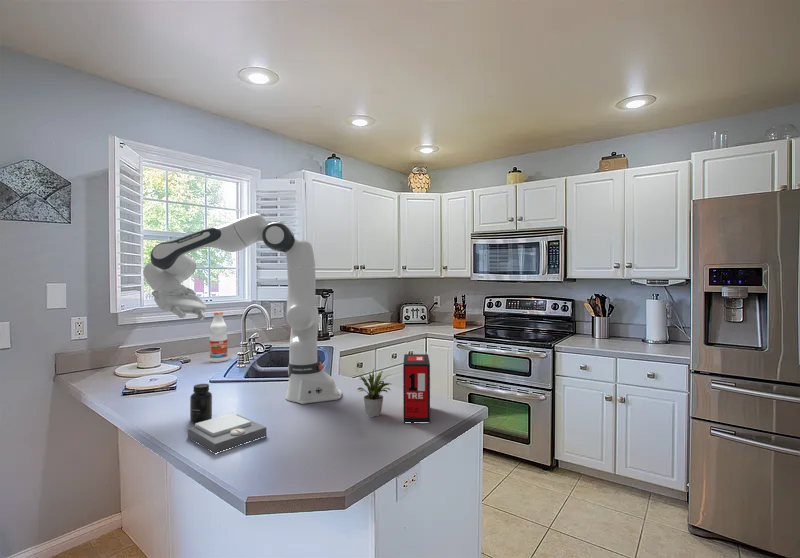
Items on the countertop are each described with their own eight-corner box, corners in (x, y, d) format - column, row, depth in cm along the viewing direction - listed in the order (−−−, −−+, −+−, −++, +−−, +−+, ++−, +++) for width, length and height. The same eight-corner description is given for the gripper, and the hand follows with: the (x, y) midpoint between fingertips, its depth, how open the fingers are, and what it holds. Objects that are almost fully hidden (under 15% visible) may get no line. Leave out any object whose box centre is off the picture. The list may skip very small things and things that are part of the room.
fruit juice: (225, 358, 243) (225, 311, 242) (229, 361, 235) (228, 312, 235) (208, 360, 237) (207, 312, 237) (211, 363, 230) (211, 313, 229)
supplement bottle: (190, 424, 137) (189, 389, 137) (190, 418, 143) (189, 384, 143) (212, 421, 140) (212, 386, 140) (211, 415, 146) (211, 381, 146)
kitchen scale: (237, 423, 138) (237, 411, 138) (266, 436, 127) (266, 424, 127) (187, 437, 126) (187, 424, 126) (215, 454, 114) (215, 440, 114)
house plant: (357, 424, 136) (357, 376, 136) (345, 411, 149) (345, 367, 149) (396, 418, 142) (396, 371, 142) (382, 406, 155) (382, 363, 154)
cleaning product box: (430, 423, 137) (429, 364, 137) (403, 423, 138) (403, 364, 137) (428, 407, 154) (428, 354, 154) (404, 407, 154) (404, 354, 154)
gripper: (155, 283, 146) (176, 308, 141) (197, 291, 165) (217, 313, 161) (144, 297, 146) (165, 322, 142) (188, 303, 165) (207, 325, 161)
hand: (193, 317), depth 151 cm, fingers open, 8 cm apart
